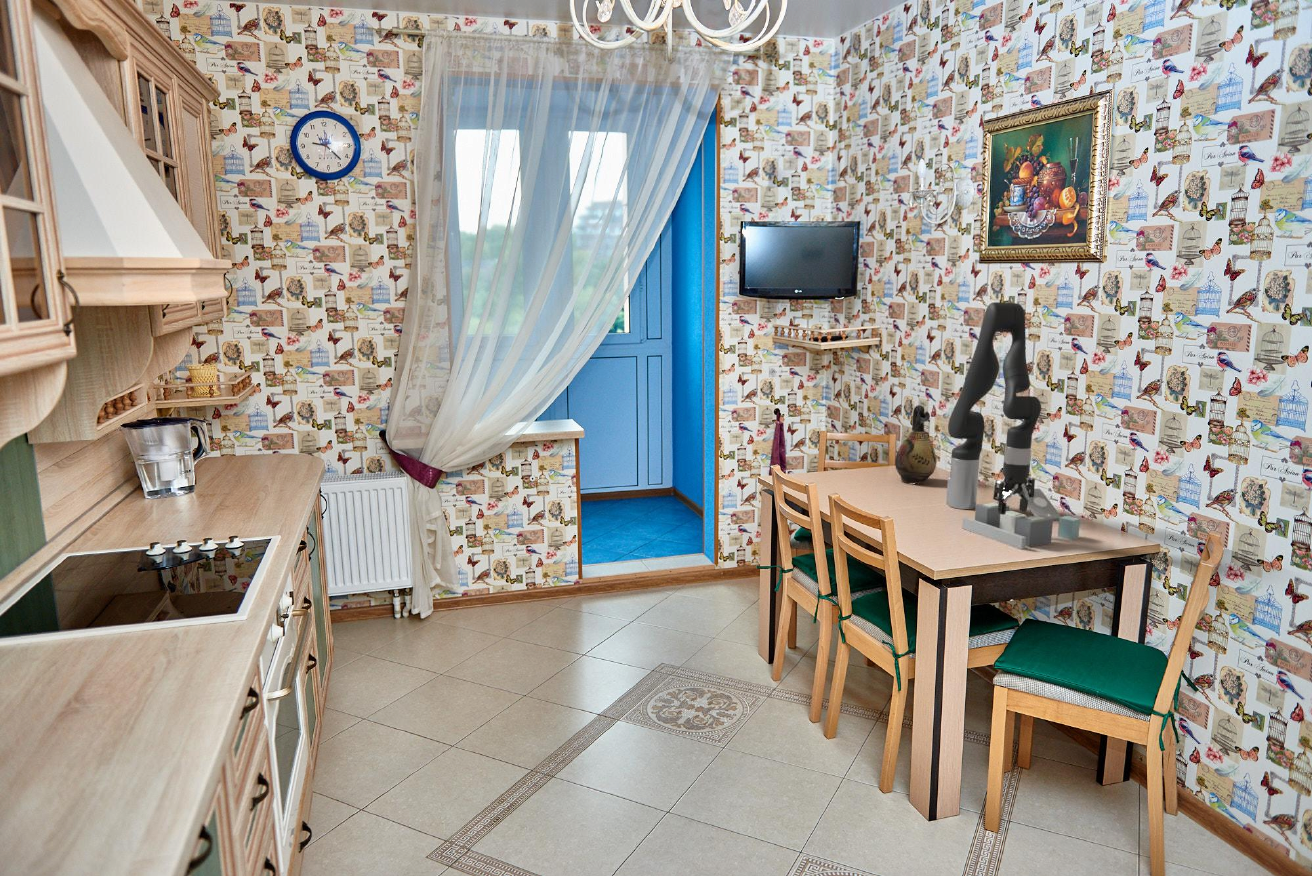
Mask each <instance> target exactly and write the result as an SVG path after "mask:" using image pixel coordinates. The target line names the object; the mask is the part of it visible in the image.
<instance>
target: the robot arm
mask: <svg viewBox="0 0 1312 876" xmlns="http://www.w3.org/2000/svg"><path fill="white" fill-rule="evenodd" d="M996 333H1010V335H1011V345H1010V347H1009V350H1008V351H1007V353H1006V355H1005V357H1004V360H1003V363H1002V375H1003V380H1004V387H1005V389H1004V390H1005V391H1004V397H1003V403H1002V412H1003V414H1004V416H1005V417H1006V418H1007V419H1008V420H1023V421H1022V422H1021V423H1020V424H1019V425H1018V424H1017V425H1014V426H1011V427H1009V428H1008V429H1007V433H1006V444H1005V450H1004V455H1003V465H1002V466H1003V467H1002V476H1003V478H1004V479H1003V481H1000V480H996V481H995V483H994V491H993V496H992V499H993V500H994V501H997V503H999V504H998V512H999V514H1002V515H1005V514H1006V505H1007V502H1008V500H1009V499H1010V498H1012V496H1013V495H1018V496H1019V495H1020V496H1019V497H1020V498H1019V507H1018V508H1019V511H1020V512H1025V513H1026V512H1027V510H1028V507H1027V506H1028V500H1029V498H1031V497H1034V489H1035V487H1036V486H1035V485H1036V484H1035V481H1036V480H1035V478H1032V477H1030V472H1031V470H1030V469H1031V462H1032V461H1031V459H1032V450H1031V449H1032V441H1033V439H1032V438H1033V433H1034V430H1035V428H1036V424H1037V422H1038V419H1039V418H1040V414H1041V412H1042V404H1041V401H1040V399H1039V398H1038V397H1036V396H1032V395H1031V396H1029V395H1028V396H1027V395H1025V396H1023V395H1017V394H1019V393H1024V392H1026V391H1028V390H1029V388H1030V386H1031V381H1030V375H1029V370H1028V364H1027V357H1026V356H1027V354H1026V352H1027V351H1026V346H1027V345H1026V344H1027V343H1026V341H1027V340H1026V339H1027V338H1026V315H1025V311H1024V308H1023V306H1022V305H1021V304H1020V303H1017V302H1016V303H1015V302H998V301H997V302H996V301H995V302H991V303H990V304H988V306H987V307H986V309H985V311H984V315H983V317H982V322H981V327H980V332H979V336H978V339H977V342H976V346H975V350H974V352H973V356H972V358H971V361H970V364H969V366H968V370H967V373H966V376H965V379H964V382H963V385H962V388H961V391H960V394H959V396H958V398H957V401H956V403H955V405H954V408H953V410H952V411H951V414H950V416H949V421H948V424H947V430H948V434H949V436H950V437H952V438H953V439H958V440H959V439H961V440H965V439H966V440H965V441H964V442H963V443H962V444H961V445H959V446H956V447H954V448H953V449H952V450H951V459H950V460H951V462H950V474H949V475H950V476H949V477H947V486H946V487H947V488H946V489H947V490H946V502H945V504H946V505H948V507H951V508H955V509H958V510H959V509H960V510H973V509H976V505H977V500H978V499H977V497H978V487H979V486H978V485H979V474H980V473H979V472H980V471H979V469H980V460H981V459H980V457H981V453H982V449H983V442H984V436H985V435H984V434H985V419H984V416H983V414H982V413H981V412H979V411H972V409H973V407H974V406H975V405H976V404H977V403H978V402H979V401H980V400H982V398H984V397H985V396H986V395H987V394H988V393H989V392H990V391H991V390H992V389H993V387H994V385H995V384H996V381H997V377H998V375H999V372H1000V362H999V359H998V357H997V354H996V351H995V348H994V338H995V335H996ZM1029 489H1030V493H1029Z"/></svg>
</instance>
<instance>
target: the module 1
mask: <svg viewBox="0 0 1312 876" xmlns="http://www.w3.org/2000/svg"><path fill="white" fill-rule="evenodd" d="M1023 517H1028V516H1027V515H1026V514H1023V513H1020V512H1017V511H1013V510H1009V511H1006V514H1005V515H1002V514H1000V527H999V528H1000V529H1003V530H1006V531H1009V532H1012V533H1015V534H1016V532H1017V519H1018V518H1023Z"/></svg>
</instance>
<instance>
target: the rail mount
mask: <svg viewBox="0 0 1312 876" xmlns="http://www.w3.org/2000/svg"><path fill="white" fill-rule="evenodd" d="M998 504H999V502H991V503H985V504H984V503H981V504H976V508H975V511H974V519H973V518H969V517H962V526H961V529H962V530H965V529H966V530H965V531H967V532H970V531H971V532H972V533H973V534H976V533H977V534H976V535H979V534H980V535H979V536H982V537H985V538H988V539H990V538H991V539H990V540H994V541H996V540H997V541H996V542H999V543H1002V542H1003V543H1002V544H1004V545H1007V544H1008V546H1010V545H1011V547H1013V546H1014V547H1013V548H1017V549H1019V550H1026V547H1027V548H1031V547H1036V546H1043V545H1048V544H1049V545H1051V543H1052V539H1053V538H1052V534H1053V525H1054V524H1053V523H1054V520H1053V519H1051V518H1047V517H1044V516H1041V515H1038V516H1034V515H1033V516H1032V515H1031V516H1027V517H1023V518H1018V519H1017V532H1016V534H1015V533H1012V532H1009V531H1006V530H1003V529H1000V528H999V527H1000V514H999V512H998ZM1006 511H1010V505H1007V504H1006ZM971 532H970V533H971ZM1030 546H1031V547H1030Z"/></svg>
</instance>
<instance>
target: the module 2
mask: <svg viewBox="0 0 1312 876" xmlns="http://www.w3.org/2000/svg"><path fill="white" fill-rule="evenodd" d="M1080 526H1081V518H1079V517H1078V518H1077V517H1073V516H1069V515H1065V516H1061V517H1060V518H1059V520H1058V526H1057V527H1058V528H1057V537H1059V538H1062V539H1067V540H1070V541H1073V540H1075V539H1079V536H1080Z"/></svg>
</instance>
